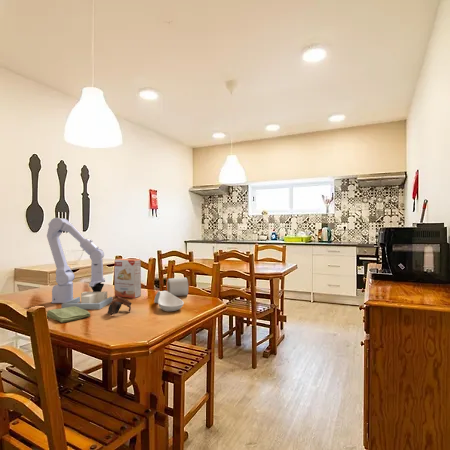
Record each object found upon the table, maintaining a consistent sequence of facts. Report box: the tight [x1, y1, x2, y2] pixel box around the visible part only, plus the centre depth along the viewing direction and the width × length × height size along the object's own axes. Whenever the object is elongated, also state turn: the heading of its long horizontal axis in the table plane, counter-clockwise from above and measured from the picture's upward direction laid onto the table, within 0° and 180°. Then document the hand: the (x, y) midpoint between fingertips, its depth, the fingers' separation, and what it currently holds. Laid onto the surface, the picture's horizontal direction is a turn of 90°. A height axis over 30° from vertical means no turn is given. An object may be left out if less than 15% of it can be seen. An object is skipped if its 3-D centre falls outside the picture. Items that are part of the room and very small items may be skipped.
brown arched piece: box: [107, 296, 133, 316], centre depth 142 cm, size 12×10×8 cm
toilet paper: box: [166, 277, 189, 297], centre depth 178 cm, size 10×10×10 cm
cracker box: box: [114, 258, 142, 299], centre depth 178 cm, size 14×6×21 cm, turn 68°
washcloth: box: [46, 306, 91, 324], centre depth 137 cm, size 13×18×3 cm
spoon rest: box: [153, 290, 185, 312], centre depth 152 cm, size 24×12×7 cm, turn 32°
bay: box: [61, 296, 114, 310], centre depth 158 cm, size 18×16×2 cm
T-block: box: [80, 291, 108, 303], centre depth 161 cm, size 12×12×5 cm
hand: (97, 297), depth 168 cm, fingers closed
